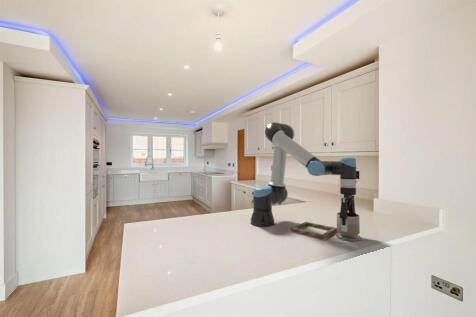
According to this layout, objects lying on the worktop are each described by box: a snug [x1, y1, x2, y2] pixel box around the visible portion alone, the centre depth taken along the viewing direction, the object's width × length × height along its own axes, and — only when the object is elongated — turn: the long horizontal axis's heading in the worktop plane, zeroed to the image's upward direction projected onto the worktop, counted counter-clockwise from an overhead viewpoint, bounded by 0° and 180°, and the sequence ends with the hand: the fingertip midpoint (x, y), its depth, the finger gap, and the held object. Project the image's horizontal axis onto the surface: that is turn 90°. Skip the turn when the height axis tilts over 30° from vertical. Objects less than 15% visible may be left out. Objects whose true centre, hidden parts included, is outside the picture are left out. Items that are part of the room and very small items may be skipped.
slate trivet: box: [335, 231, 362, 242], centre depth 116 cm, size 12×12×1 cm
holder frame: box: [290, 221, 338, 241], centre depth 126 cm, size 19×19×2 cm
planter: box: [336, 211, 361, 236], centre depth 116 cm, size 11×11×10 cm
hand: (347, 228), depth 116 cm, fingers closed on planter, 11 cm apart
